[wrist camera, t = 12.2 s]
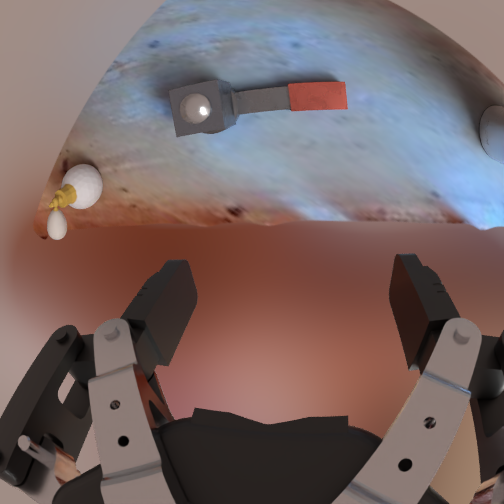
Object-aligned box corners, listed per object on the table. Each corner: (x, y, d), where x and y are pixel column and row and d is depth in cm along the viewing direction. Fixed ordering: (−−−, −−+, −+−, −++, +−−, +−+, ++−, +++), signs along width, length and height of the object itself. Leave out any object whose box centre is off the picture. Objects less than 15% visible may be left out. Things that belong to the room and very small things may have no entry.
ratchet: (340, 71, 29) (347, 66, 24) (345, 120, 32) (353, 124, 28) (187, 88, 33) (171, 88, 28) (195, 135, 36) (181, 141, 32)
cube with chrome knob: (229, 82, 30) (216, 79, 24) (235, 124, 32) (224, 129, 27) (187, 90, 31) (166, 90, 25) (194, 130, 33) (175, 137, 28)
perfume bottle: (104, 155, 39) (55, 178, 29) (117, 208, 44) (76, 242, 34) (74, 163, 40) (27, 187, 30) (88, 212, 45) (47, 244, 35)
